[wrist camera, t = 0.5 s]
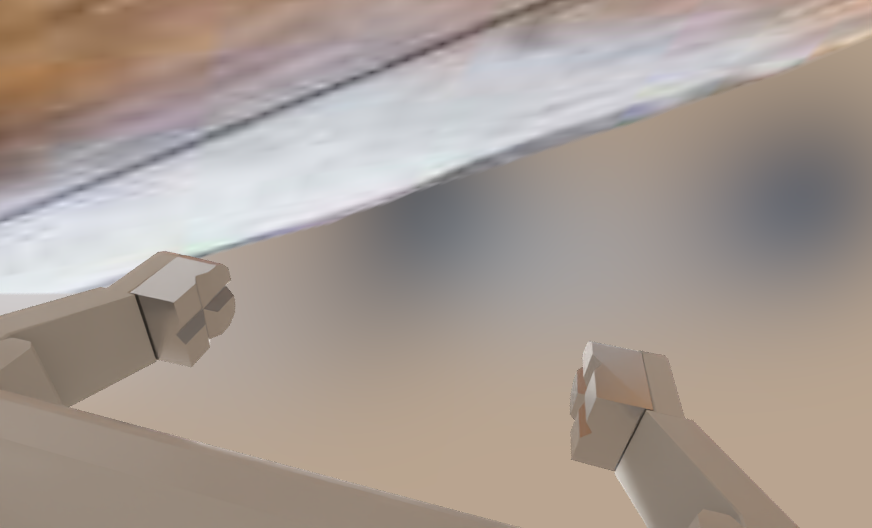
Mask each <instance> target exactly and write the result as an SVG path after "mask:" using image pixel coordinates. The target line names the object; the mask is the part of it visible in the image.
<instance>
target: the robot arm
mask: <svg viewBox="0 0 872 528" xmlns="http://www.w3.org/2000/svg"><path fill="white" fill-rule="evenodd" d="M230 281H231V278H230V274H229V269H228V267H226V266H225V265H223V264H220V263H216V262H212V261H207V260H203V259H199V258H195V257H190V256H186V255H181V254H176V253H172V252H167V251H163V252H157V253H156V254H155V255H153V256H152V257H150V258H149V259H148V260H146V261H145V262H143V263H142V264H140V265H139V266H138V267H136V268H135V269H133V270H132V271H131V272H129V273H128V274H126V275H125V276H124V277H122V278H121V279H119V280H118V281H116V282H115V283H114V284H112V285H111V286H109V287H108V288H103V287H99V288H95V289H92V290H88V291H85V292H81V293H78V294H74V295H71V296H67V297H64V298H61V299H57V300H54V301H50V302H46V303H43V304H40V305H36V306H32V307H29V308H25V309H22V310H18V311H15V312H12V313H8V314H4V315H1V316H0V528H521V527H517V526H513V525H509V524H506V523H502V522H498V521H494V520H491V519H486V518H483V517H479V516H476V515H472V514H468V513H464V512H460V511H457V510H453V509H449V508H445V507H442V506H438V505H434V504H430V503H426V502H423V501H419V500H415V499H411V498H407V497H404V496H400V495H396V494H393V493H389V492H385V491H381V490H378V489H373V488H370V487H366V486H362V485H359V484H355V483H351V482H347V481H343V480H340V479H336V478H332V477H328V476H325V475H321V474H317V473H313V472H310V471H306V470H302V469H299V468H295V467H291V466H287V465H284V464H280V463H276V462H272V461H269V460H265V459H261V458H257V457H254V456H250V455H246V454H243V453H239V452H235V451H231V450H227V449H224V448H220V447H216V446H213V445H209V444H205V443H201V442H198V441H194V440H190V439H186V438H182V437H179V436H175V435H171V434H168V433H163V432H160V431H156V430H152V429H149V428H145V427H141V426H137V425H133V424H129V423H126V422H122V421H118V420H115V419H111V418H107V417H104V416H100V415H96V414H92V413H89V412H85V411H81V410H77V409H73V408H70V406H72V405H74V404H76V403H78V402H80V401H82V400H84V399H85V398H87V397H89V396H91V395H93V394H95V393H97V392H99V391H101V390H103V389H105V388H107V387H108V386H110V385H112V384H114V383H116V382H118V381H120V380H122V379H124V378H126V377H128V376H130V375H132V374H134V373H135V372H137V371H139V370H141V369H143V368H145V367H147V366H149V365H151V364H153V363H155V362H156V360H161V361H165V362H171V363H175V364H180V365H185V366H189V367H192V366H193V365H194V364H195V363H196V362H197V361H198V360H199V359H200V357H201V356H202V355H203V354H204V353H205V352H206V351H207V350H208V349H209V348H210V339H211V338H213V337H216V336H218V335H221V334H222V333H223V332H224V331H225V330H226V329H227V328H228V326H229V325H230V323H231V321H232V318H233V316H234V313H235V299H234V295H233V294H232V293H231V291H230V290H229V289H228V288H227V285H228V283H229V282H230ZM570 415H571V416H572V417H573V419H574V420H575V421H574V424H573V427H572V429H571V460H575V461H578V462H582V463H586V464H590V465H594V466H597V467H601V468H604V469H608V470H612V471H615V475H616V477H617V479H618V480H619V482H620V483H621V485H622V487H623V488H624V490H625V492H626V493H627V495H628V497H629V498H630V500H631V502H632V503H633V505H634V506H635V508H636V510H637V511H638V513H639V515H640V516H641V518H642V519H643V521H644V523H645V524H646V526H647V528H799V527H798V526H797V525H796V524H795V523H794V522H793V521H792V520H791V519H790V518H789V517H788V516H787V515H786V514H785V513H784V512H783V511H782V510H781V509H780V508H779V507H778V506H777V505H776V504H775V503H774V502H773V501H772V500H771V499H770V498H769V497H768V496H767V495H766V494H765V492H764V491H763V490H762V489H761V488H760V487H759V486H758V485H757V484H756V483H755V482H753V481H752V479H750V477H749V476H748V475H747V474H746V473H745V472H744V471H743V470H742V469H741V468H740V467H739V466H738V465H737V464H736V463H735V462H734V461H733V460H732V459H731V458H730V457H729V456H728V455H727V454H726V453H725V452H724V451H723V450H722V449H721V448H720V447H719V446H718V445H717V444H716V443H715V442H714V441H713V440H712V439H711V438H710V437H709V436H708V435H707V434H706V433H705V432H704V431H703V430H702V429H701V428H700V427H699V426H698V425H697V424H696V423H695V422H694V421H693V420H689V419H685V417H684V413H683V410H682V406H681V403H680V399H679V395H678V392H677V389H676V385H675V382H674V378H673V374H672V371H671V367H670V364H669V360H668V358H667V357H666V356H665V355H660V354H654V353H649V352H644V351H635V350H630V349H626V348H621V347H616V346H611V345H606V344H601V343H596V342H591V341H589V342H588V343H587V345H586V347H585V350H584V352H583V367H582V368H580V369H579V370H577V372H576V375H575V378H574V381H573V386H572V391H571V399H570Z"/></svg>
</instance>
